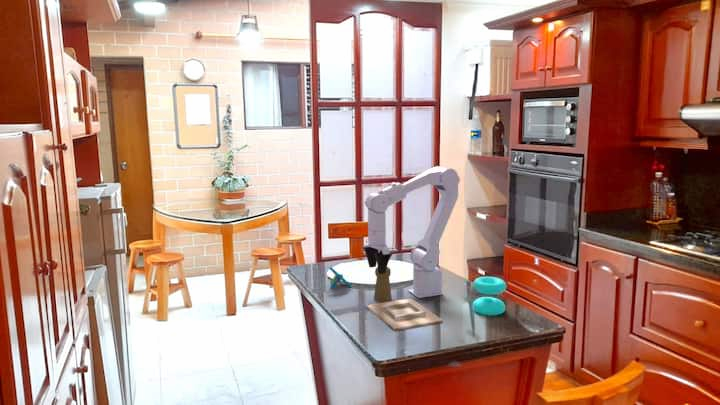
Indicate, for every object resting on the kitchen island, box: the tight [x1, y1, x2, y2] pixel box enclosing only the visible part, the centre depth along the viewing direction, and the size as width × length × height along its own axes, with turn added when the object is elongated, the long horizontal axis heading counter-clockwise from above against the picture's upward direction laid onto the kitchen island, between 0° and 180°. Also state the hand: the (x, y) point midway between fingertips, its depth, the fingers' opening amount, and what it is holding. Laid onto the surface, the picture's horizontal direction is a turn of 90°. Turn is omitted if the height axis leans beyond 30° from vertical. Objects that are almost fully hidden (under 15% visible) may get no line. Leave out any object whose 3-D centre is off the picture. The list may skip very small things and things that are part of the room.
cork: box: [373, 266, 393, 303], centre depth 174 cm, size 6×6×11 cm
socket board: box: [366, 297, 444, 331], centre depth 161 cm, size 16×20×2 cm
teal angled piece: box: [329, 267, 352, 289], centre depth 186 cm, size 11×6×10 cm
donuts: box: [472, 276, 507, 317], centre depth 163 cm, size 10×10×10 cm
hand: (377, 270), depth 172 cm, fingers open, 7 cm apart
